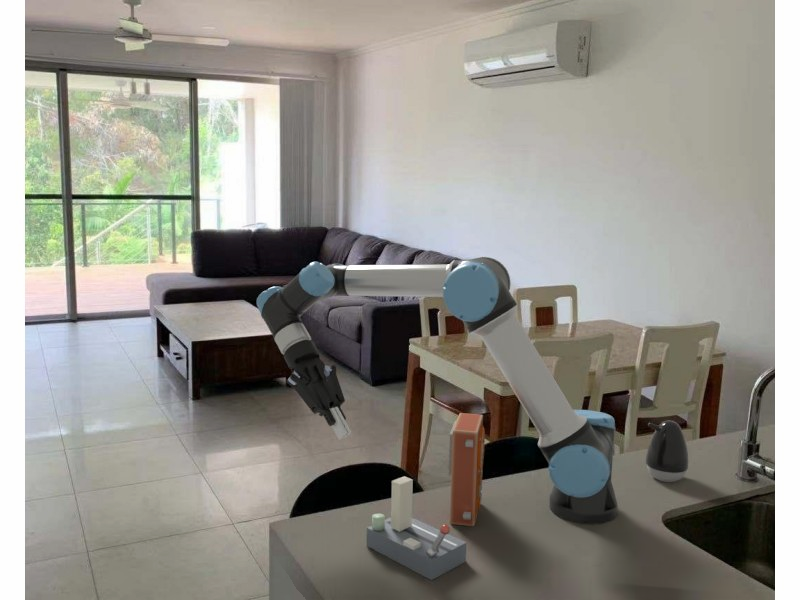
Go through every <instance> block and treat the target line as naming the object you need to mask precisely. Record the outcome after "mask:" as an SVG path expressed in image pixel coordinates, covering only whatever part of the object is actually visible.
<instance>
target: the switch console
mask: <svg viewBox="0 0 800 600" xmlns="http://www.w3.org/2000/svg"><path fill="white" fill-rule="evenodd" d="M439 533H440V529H438V528H435V527H433V526H432V525H429V524H428V523H425V522H423V521H421V520H418V519H416V518H414V517H412V526H411V527H408V528H406V529H404V530H402V531H400V532H399V531H397V530H395V529H393V528H391V516H390V517H389V518H385V528H384V529H383V530H379V531H377V530H374V529H372V525H370V526H367V527H366V547H367V548H369V549H371V548H372V550H373V549H374V551H375V552H377V553H379V554H381V555H383V556H385V557H387V558H389V559H391V560H393V561H395V562H396V563H398V564H401V566H404V567H406V568H408V569H410V570H411V571H414V572H415V573H417V574H419V575H421V576H423V577H424V578H427V579H429V580H431V581H432V580H435V579H437V578H438V577H441V576H442V575H444V574H446V573H447V572H450V571H452V570H453V569H455V568H456V567H458V566H461V565H462V564H463V563H465V562H467V542H466V541H465V540H462V539H460V538H457V537H455V536H453V535H451V534H449V533H448V534H446V535H445V537H444V539H443V541H442V542H441V544H440V546H439V548H438V550H439V553H438V554H436V555H434V556H432V557H428V556H427V554H426V551H427V550H428V549H430V548H431V547H432V545H433V543H434V542H435V540H436V538H437V536H438V534H439Z"/></svg>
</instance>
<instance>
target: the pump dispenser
mask: <svg viewBox="0 0 800 600" xmlns="http://www.w3.org/2000/svg"><path fill="white" fill-rule="evenodd" d="M647 426H648V427H649V428H651V429H652V430H654V432H653V434H652V435H651V438H650V441H649V444H648V448H647V451H646V457H645V464H646V465H647V466H646V467H647V470H648V472H649V473H650V475H651V476H652V477H653V478H654V479H655V480H657V481H658V480H659V481H660V482H665V483H674V482H678V481H680V480H682V479H683V478H684V477H685V474H686V472H687V471H688V470H689V462H690V461H689V450H688V446H687V440H686V438H685V434H684V431H683V430H682V428H681V426H680V424H678V423H677V422H676V421H673V420H664V421H662V422H661V423H660V424H659V425H657V424H654V423H652V422H648V424H647Z"/></svg>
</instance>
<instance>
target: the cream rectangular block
mask: <svg viewBox="0 0 800 600" xmlns="http://www.w3.org/2000/svg"><path fill="white" fill-rule="evenodd" d="M413 481H414V479H412V478H410V477H407V476H405V475H404V476H402V477H398V478H396V479H393V480H391V501H390V502H391V505H390V506H391V510H390V512H391V513H390V515H391V516H390V517H391V528H393V529H395V530H397V531H399V532H400V531H402V530H404V529H406V528H408V527H411V526H412V518H413V483H414V482H413Z"/></svg>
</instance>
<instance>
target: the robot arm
mask: <svg viewBox="0 0 800 600" xmlns="http://www.w3.org/2000/svg"><path fill="white" fill-rule="evenodd" d="M510 289H511V276H510V273H509V271H508V270H507V268H506V266H504V264H502V262H500V261H499V260H498V259H495V258H492V257H488V256H481V257H475V258H468V259H453V260H452V261H451V262H450V263H449V264H445V263H444V264H436V263H435V264H351V265H346V264H345V265H344V264H341V263H330V264H328V265H325V264H323V262H322V263H321V262H319V261H312V262H310V263H309V264H308V265H306V267H303V268H302V269H301V270H300V272H299V273H298V274H296V276H295V277H294V278H293V279H292V280H290V281H289V282H288V283H287V284H286V285H285V286H284V287H282V286H272V287H269V288H268V289H266V290H264V291H262V292H261V293H260V294H259V295H258V297H257V298H256V306H257V308H258V311H259V313H260V316H261V318H262V320H263V321H264V323H265V324H266V326H267V328H268V330H269V331H270V333H271V335H272V338H273V339H274V342H275V343H276V345H277V347H278V349H279V351H280V353H281V354H282V355H283V358H284V360H285V362H286V364H287V367H288V368H289V369H290V370H291V375H290V376H289V377H288V379H287V380H286V383H287V384H288V385H289V386H290V387H292V388H293V389H294V391H296V393H297V395H299V397H300V398H301V399H302V401H303V402H304V403H305V404H306V406H307V407H308V408H309V409H310V411H311V412H312V413H313V414H314V415H316V414H318V416H319V417H323V418H324V419H325V421H326V423H327V424H328V426H329V427H331V428H332V429H333V432H334V433H335V435H336V437H337V440H338V441H340V440H342V439H343V440H344V439H346V438H347V437H348V436H349V435H350V434H351V433H352V431H351V429H350V426H349V425H348V423H347V421H346V420H347V418H346V415H345V413H344V412H343V410H342V408H341V406H342V405H343V404H344V403H345V402H346V399H345V397H344V394H343V391H342V388H341V385H340V381H339V378H338V375H337V367H336V365H335V364H334V365H331V366H329V365H326V363H325V361H323V360H322V359H321V358H320V357H321V356H320V353H319V352H320V351H319V350H318V348H317V345H316V344H315V342H314V341H313V340H312V336H310V333H309V332H308V330H307V328H306V327H305V324H304V323H303V321H302V318H301V316H302V315H304V314H305V313H306V311H308V310H309V309H311V307H312V306H314V305H315V304H316V303H317V302H320V301H323V300H326V299H329V298H332V297H413V298H414V297H419V298H420V297H422V298H423V297H426V298H428V297H431V298H438V297H439V298H443V301H444V304H445V307H446V309H447V310H448V311H449V313H450V314H451V315H452V316H454V317H455V318H457V319H458V320H460V321H462V322H463V325H464V326H465V327H466V329H467V331H468V332H469V334H470V335H473V336H477V337H479V338H481V339H482V341H483V343H484V345H485V346H486V348H487V350H488V351H489V353H490V354H491V356H492V358H493V360H494V361H495V363H496V365H497V366H498V368H499V369H500V371H501V373H502V375H503V376H504V378H505V379H506V381H507V383H508V385H509V386H510V388H511V389H512V391H513V392H514V394H515V397H516V398H517V399H518V401H519V402H520V405H521V406H522V408H523V409H524V410H525V412H526V414H527V416H528V417H529V419H530V421H531V423H532V424H533V426H534V427H535V429H536V430H537V432H538V434H539V438H538V442H537V446H538V448H539V449H540V451H541V453H542V455H543V456H544V458H545V459H546V461H547V463H548V472H549V477H550V479H551V482H552V484H553V488H552V490H551V493H550V494H549V495H550V496H549V505H548V506H549V510H551V512H552V513H553V514H554V515H556V516H558V517H560V518H561V519H564V520H566V521H570V522H574V523H578V524H579V523H580V524H589V525H595V524H597V525H598V524H605V523H608V522H611V521H613V520H614V519H615V518H616V517H617V516H618V515H617V514H618V501H617V497H616V494H615V490H614V486H613V482H612V473H613V459H614V458H613V457H614V446H615V445H614V444H615V442H614V441H615V431H616V423H615V418H614V417H613V416H612V415H610V414H608V413H606V412H603V411H602V412H601V411H598V410H597V411H596V410H589V409H573V407H572V406H571V404H570V403H569V401H568V399H567V398H566V396H565V395H564V392H563V391H562V389H561V388H560V386H559V384H558V383H557V381H556V379H555V378H554V377H553V375H552V373H551V372H550V370H549V368H548V366H547V365H546V363H545V362H544V360H543V358H542V356H541V355H540V353H539V351H538V350H537V348H536V347H535V345H534V344H533V342H532V340H531V339H530V337H529V335H528V333H527V332H526V330H525V329H524V327H523V326H522V324H521V322H520V320H519V319H518V318H517V310H518V307H519V305H518V303H517V302H516V300H515V298H514V297H513V295H512V293H511V292H510Z"/></svg>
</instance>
